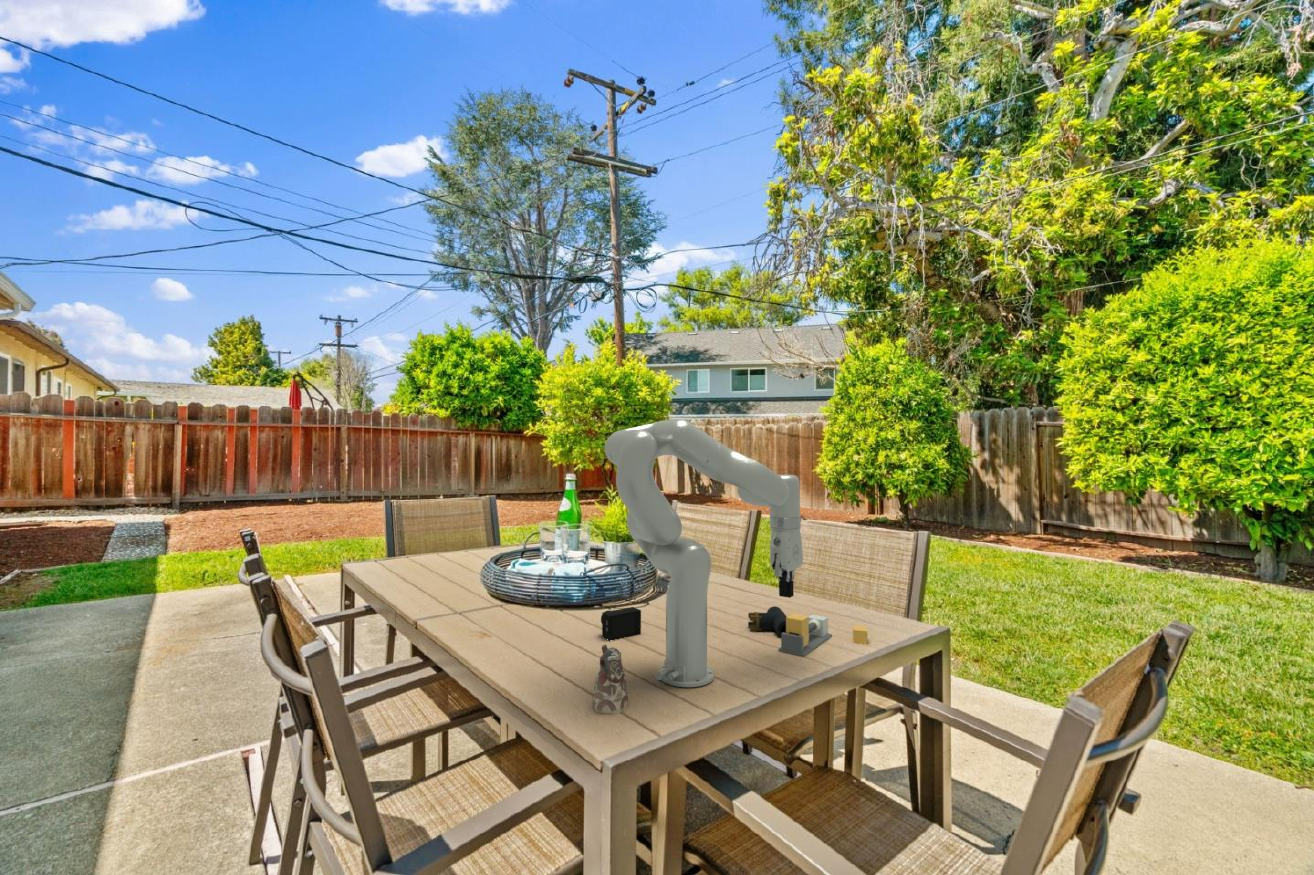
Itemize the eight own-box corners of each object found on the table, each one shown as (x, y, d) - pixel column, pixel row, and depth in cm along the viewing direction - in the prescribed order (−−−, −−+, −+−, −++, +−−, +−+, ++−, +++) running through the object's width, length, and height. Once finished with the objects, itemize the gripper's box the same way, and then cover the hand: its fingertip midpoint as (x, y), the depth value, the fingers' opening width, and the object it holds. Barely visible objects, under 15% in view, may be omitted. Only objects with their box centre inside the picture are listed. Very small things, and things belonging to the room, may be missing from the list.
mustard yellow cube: (867, 644, 157) (867, 631, 158) (853, 643, 158) (853, 630, 159) (866, 639, 162) (866, 626, 162) (852, 638, 163) (852, 625, 163)
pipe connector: (754, 619, 162) (745, 605, 177) (753, 638, 162) (745, 622, 177) (795, 620, 163) (783, 606, 178) (794, 639, 162) (782, 623, 177)
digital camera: (630, 629, 170) (631, 605, 170) (641, 634, 165) (641, 609, 165) (599, 636, 164) (599, 611, 164) (609, 641, 159) (609, 615, 159)
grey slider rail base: (804, 656, 148) (804, 636, 148) (778, 650, 152) (778, 630, 152) (832, 636, 164) (832, 617, 164) (808, 631, 168) (808, 613, 168)
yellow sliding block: (802, 648, 150) (801, 620, 150) (786, 645, 153) (786, 617, 153) (808, 644, 153) (808, 616, 154) (792, 640, 156) (792, 613, 156)
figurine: (604, 717, 114) (604, 656, 114) (586, 704, 120) (586, 646, 120) (634, 708, 118) (634, 648, 118) (616, 696, 124) (616, 639, 124)
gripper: (786, 528, 139) (787, 605, 139) (810, 521, 151) (811, 592, 151) (758, 526, 144) (759, 600, 143) (783, 519, 156) (784, 588, 155)
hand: (786, 596), depth 147 cm, fingers closed
